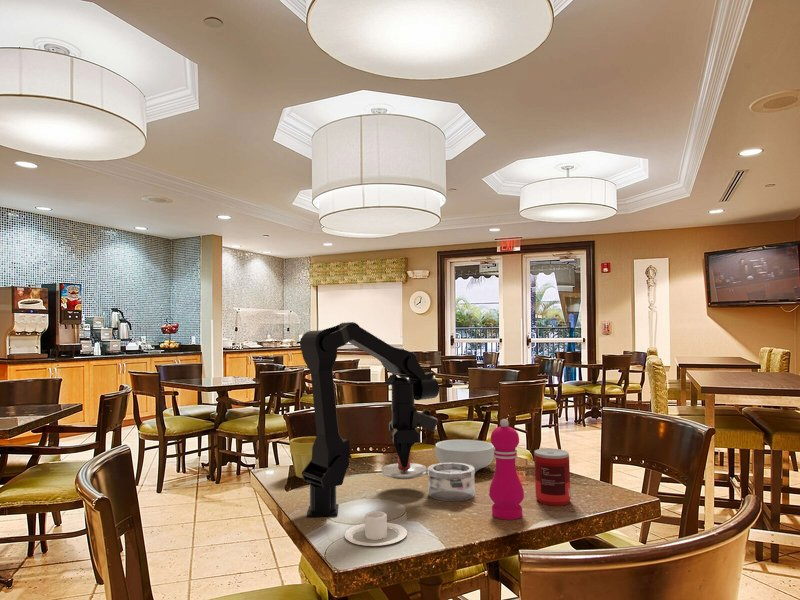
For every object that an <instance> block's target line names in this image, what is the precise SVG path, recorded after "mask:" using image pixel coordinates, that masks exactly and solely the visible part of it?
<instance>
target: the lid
mask: <svg viewBox="0 0 800 600" xmlns="http://www.w3.org/2000/svg"><path fill="white" fill-rule="evenodd" d="M427 474H428V466H425V465H423V464H420V463H414V462H413V463H412V462H411V454H410V455H409V460H408V464H407V467H402V464H401V462H400V459H399V456H398V455H397V463H391V464H387V465H383V467H381V475H382V476H384V477H388V478H392V479H395V480H413V479H416V478H420V477H423V476H426V475H427Z"/></svg>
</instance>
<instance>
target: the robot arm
mask: <svg viewBox="0 0 800 600" xmlns="http://www.w3.org/2000/svg"><path fill="white" fill-rule="evenodd" d="M348 343H349V344H351V345H353V346H354V347H356V348H358V349H360V350H362V351H363V352H365V353H367V354H368V355H370V356H371V357H374V359H377V360H378V361H380V364H381V365H382V366H383V368H385V370H387V371H388V372H389V373H390V375H389V376H388V378H387V379H386V380H385V381H384V382H383V383H384V385H388V386H391V406H390V410H391V420H390V421H389V423H388V429H389V432H391V433H390V436H391V440H392V443H393V445H394V448H395V451H396V453H397V457H398V456H399V459H400V462H401V464H402V467H407V464H408V460H409V455H410V456H411V449H412V446H414V445H415V444H417V443H420V442H421V433H420V431H418V430H417V429H418V427H420V428H421V429H426V430H428V431H429V432H431V433H434V432H435V430H436V427H437V425H438V421H439V420H438V418H437V417H436V416H435V417H434V416H432V413H431V411H430V410H428V409H423V410H422V411H418V408H417V407H416V406H415V401H424V400H429V399H430V400H432V399H436V398H437V397H438V396H439V393H440V385H439V381H438V380H437V379H436V378H435V377H434V372H425V371H424V370H423V368H422V366H421V364H420V363H419V360H418V356H417V355H416V354H415V352H412V351H409V350H406V349H403V348H399V347H395V346H392V345H390V344H389V343H387V342H385V341H384V340H382V339H380V338H379V337H377V336H376V335H374V334H372V333H371V332H369V331H367V330H366V329H365V328H363V327H361V326H360V325H359V324H358V323H357V322H354V321H352V322H351V321H350V322H341V323H339V324H337V325H335V326H332V327H328V328H325V329H321V330H320V329H319V330H309V331H306V332H305V333H303V335H302V337H301V338H300V340H299V346H300V350H301V355H302V358H303V361H304V363H305V365H306V366H307V368H308V370H309V373H310V381H311V390H312V399H313V400H312V401H313V410H314V420H315V421H314V422H315V428H316V436H315V437H316V439H315V442H314V444H313V447H312V459H311V461H310V462H309V463H308V465H307V466H306V468H305V469H304V470H303V472H302V476H303V478H302V479H303V481H304V482H307V483H309V506H308V509H307V513H306V517H309V518H310V517H313V518H314V517H330V516H332V517H334V516H335V517H336V516H338V515H339V504H338V503H337V487H339V486H341V485H343V484H344V480H345V476H346V473H347V470H348V468H349V466H350V459H352V455H351V452H350V449H351V448H350V440H349V439H345V438H342V437H341V435H340V433H339V425H338V424H339V423H338V412H337V403H336V393H335V382H334V381H335V380H334V373H333V370H334V369H333V368H334V366H335V363H336V361H337V358H338V348H342V347H343V346H345V345H347V344H348Z"/></svg>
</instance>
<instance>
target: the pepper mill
mask: <svg viewBox="0 0 800 600" xmlns="http://www.w3.org/2000/svg"><path fill="white" fill-rule="evenodd" d="M499 422H500V423H499V425H500V426H497V427H496V428H494V429H493V430H492V431H491V434H490V443H491V444H492V445H493V446H494V450H493V452H494V454H493V456H494V457H493V458H495V470H494V474H493V476H492V480H491V481H490V485H489V491H488V492H489V493H488V495H489V498H490V500H491V501H492V502H493V504H492V505H491V513H492V516H493V517H494V518H497V519H500V520H510V521H511V520H518V519H521V518H522V516H523V507H522V505H521V503H522V502H523V500H524V498H525V493H524V488H523V484H522V482H521V480H520V478H519V475H518V473H517V469H516V459H517V457H518V454H517V453H518V450H517V449H516V448H517V447H518V446H519V443H520V437H519V434H518V431H516V430H515V428H513V427H511V426H509V424H510V423H509V421H508V419H506V418H502V419H500V421H499Z"/></svg>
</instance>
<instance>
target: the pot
mask: <svg viewBox="0 0 800 600" xmlns="http://www.w3.org/2000/svg"><path fill="white" fill-rule="evenodd" d="M427 474H428V475H427V477H428V480H427V482H428V496H429V497H430V498H431V499H433V498H434V500H437V501H441V502H464V501H468V500H471V499H473V498H474V497H475V495H476V493H475V492H476V491H475V490H476V489H475V485H476V484H475V474H476V472H475V468H474V467H473V466H472V465H468V464H465V463H454V462H450V463H440V462H438V463H433V464H430V465H429V466H427Z"/></svg>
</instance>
